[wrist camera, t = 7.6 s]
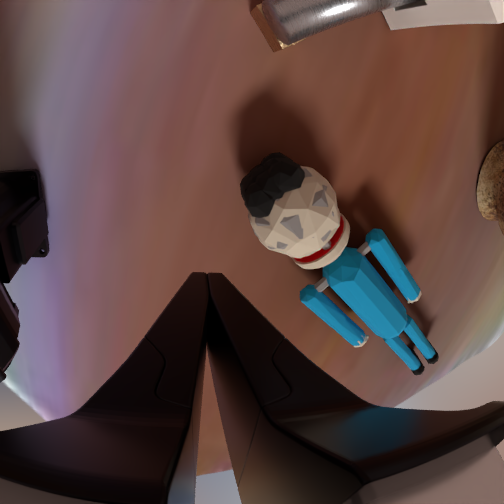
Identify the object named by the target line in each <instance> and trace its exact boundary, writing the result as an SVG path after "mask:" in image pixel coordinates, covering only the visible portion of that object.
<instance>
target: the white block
mask: <svg viewBox="0 0 504 504" xmlns="http://www.w3.org/2000/svg"><path fill="white" fill-rule="evenodd" d="M382 13H383V15H384V17H385V19H386V21H387V23H388V25H389V27H390V30H396V29H404V28H413V27H423V26H435V25H451V24H500V23H504V0H422V1H418V2H413V3H409V4H405V5H402V6H398V7H394V8H390V9H387V10H383V11H382Z"/></svg>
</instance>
